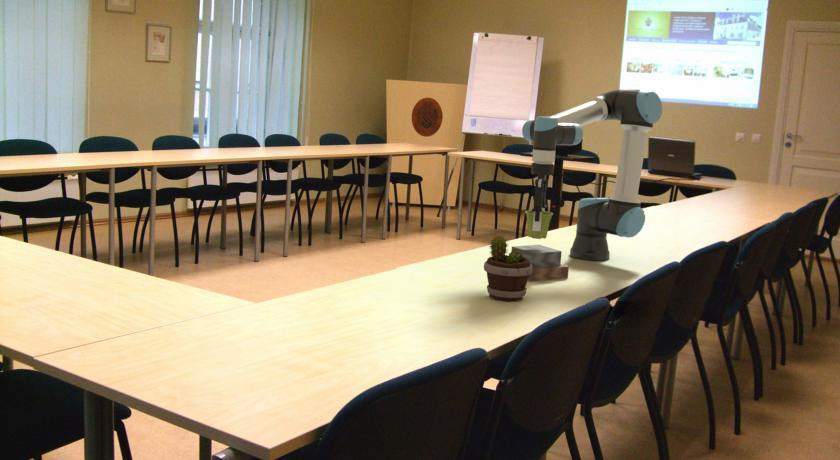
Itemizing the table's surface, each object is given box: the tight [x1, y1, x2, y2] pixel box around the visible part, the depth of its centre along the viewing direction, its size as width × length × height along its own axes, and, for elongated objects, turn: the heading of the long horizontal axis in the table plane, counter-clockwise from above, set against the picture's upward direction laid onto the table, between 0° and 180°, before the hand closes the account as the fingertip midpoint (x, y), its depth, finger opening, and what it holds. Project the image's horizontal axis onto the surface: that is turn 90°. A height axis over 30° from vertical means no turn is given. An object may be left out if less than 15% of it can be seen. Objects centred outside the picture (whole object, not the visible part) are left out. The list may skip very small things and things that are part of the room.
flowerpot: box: [483, 231, 533, 302], centre depth 246 cm, size 14×15×20 cm
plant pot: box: [524, 209, 554, 240], centre depth 278 cm, size 9×9×9 cm
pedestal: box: [511, 244, 570, 282], centre depth 281 cm, size 16×16×9 cm
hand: (537, 228), depth 279 cm, fingers closed on plant pot, 9 cm apart
